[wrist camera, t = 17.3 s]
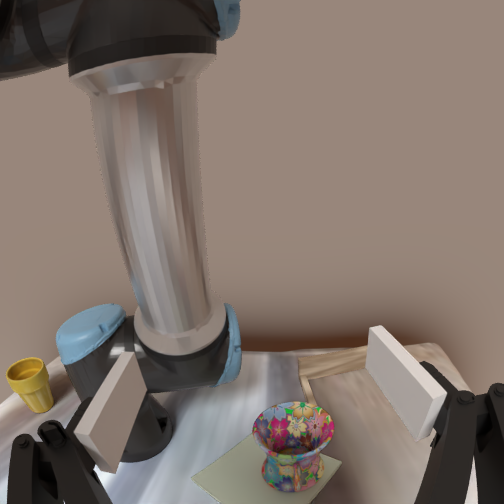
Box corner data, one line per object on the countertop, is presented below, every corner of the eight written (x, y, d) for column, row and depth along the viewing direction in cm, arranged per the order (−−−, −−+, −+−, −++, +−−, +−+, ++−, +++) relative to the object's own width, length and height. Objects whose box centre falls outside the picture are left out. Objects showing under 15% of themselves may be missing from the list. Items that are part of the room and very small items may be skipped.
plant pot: (50, 386, 48) (34, 351, 46) (68, 404, 43) (50, 367, 41) (19, 403, 39) (1, 368, 37) (33, 425, 34) (11, 387, 32)
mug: (259, 450, 34) (253, 403, 32) (321, 444, 34) (326, 397, 31) (258, 515, 22) (249, 479, 20) (333, 507, 22) (346, 469, 20)
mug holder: (423, 410, 36) (431, 389, 35) (319, 442, 35) (321, 422, 34) (383, 359, 54) (386, 340, 53) (298, 377, 53) (298, 358, 52)
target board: (192, 480, 29) (190, 477, 29) (261, 429, 40) (260, 425, 40) (275, 538, 19) (274, 536, 19) (341, 464, 30) (341, 461, 30)
